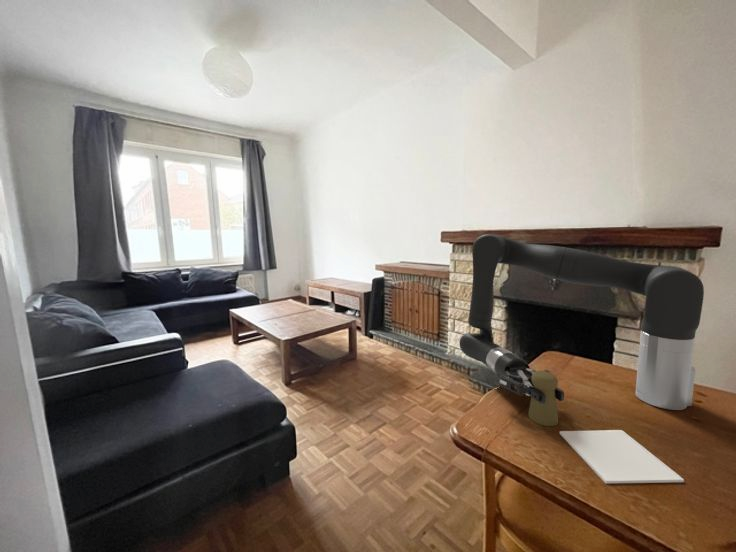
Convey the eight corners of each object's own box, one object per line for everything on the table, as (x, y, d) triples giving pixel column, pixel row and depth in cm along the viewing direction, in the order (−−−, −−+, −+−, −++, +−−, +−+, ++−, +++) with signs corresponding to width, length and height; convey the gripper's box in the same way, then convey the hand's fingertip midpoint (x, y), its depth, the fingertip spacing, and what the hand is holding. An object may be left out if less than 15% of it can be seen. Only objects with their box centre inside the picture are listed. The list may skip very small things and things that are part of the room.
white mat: (621, 432, 64) (621, 429, 64) (683, 482, 51) (684, 479, 51) (559, 433, 64) (559, 431, 64) (605, 483, 51) (605, 480, 51)
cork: (522, 411, 72) (524, 368, 71) (546, 409, 73) (548, 366, 71) (538, 427, 66) (540, 380, 65) (564, 424, 67) (567, 378, 65)
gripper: (482, 354, 81) (524, 385, 64) (530, 349, 83) (583, 378, 66) (482, 380, 82) (523, 418, 65) (529, 375, 84) (581, 410, 68)
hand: (553, 398), depth 66 cm, fingers closed on cork, 4 cm apart
